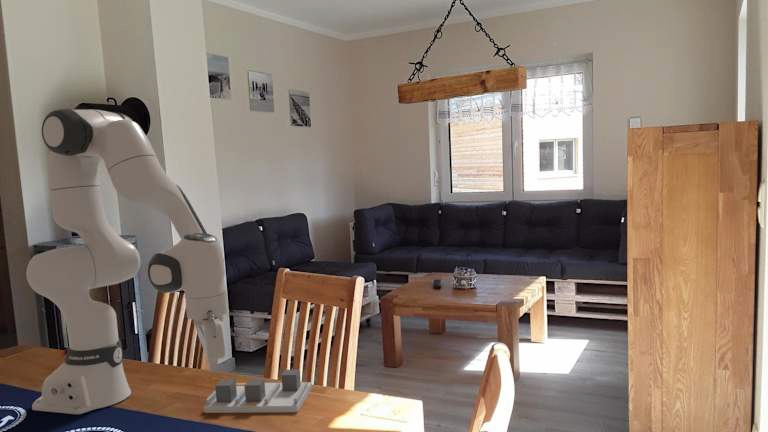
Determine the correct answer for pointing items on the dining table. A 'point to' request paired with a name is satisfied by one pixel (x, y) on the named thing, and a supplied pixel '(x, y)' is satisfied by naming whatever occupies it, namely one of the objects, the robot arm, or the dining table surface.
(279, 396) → the switch board
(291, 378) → the grey cube
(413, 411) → the dining table surface
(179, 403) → the dining table surface
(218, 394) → the gray cube
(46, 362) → the dining table surface
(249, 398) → the grey cubic block
